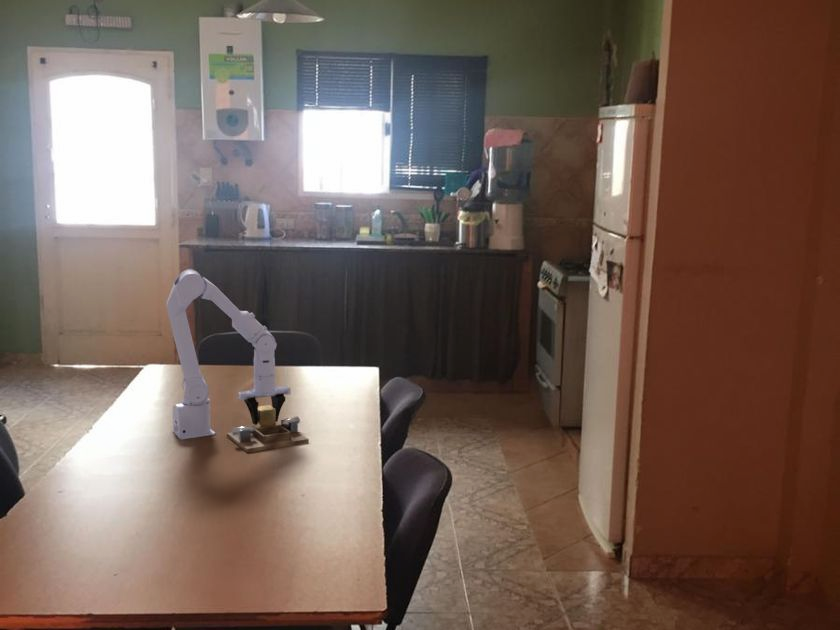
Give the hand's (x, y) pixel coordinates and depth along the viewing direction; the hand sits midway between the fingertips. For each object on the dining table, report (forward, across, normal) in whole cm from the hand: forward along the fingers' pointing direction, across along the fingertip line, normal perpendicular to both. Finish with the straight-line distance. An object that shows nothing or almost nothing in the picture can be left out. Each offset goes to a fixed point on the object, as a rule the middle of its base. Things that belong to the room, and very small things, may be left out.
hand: (265, 422), depth 241 cm
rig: (+1, -4, -10) cm, 11 cm away
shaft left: (0, -10, -11) cm, 15 cm away
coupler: (+1, 0, 0) cm, 1 cm away
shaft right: (0, +4, -10) cm, 10 cm away
